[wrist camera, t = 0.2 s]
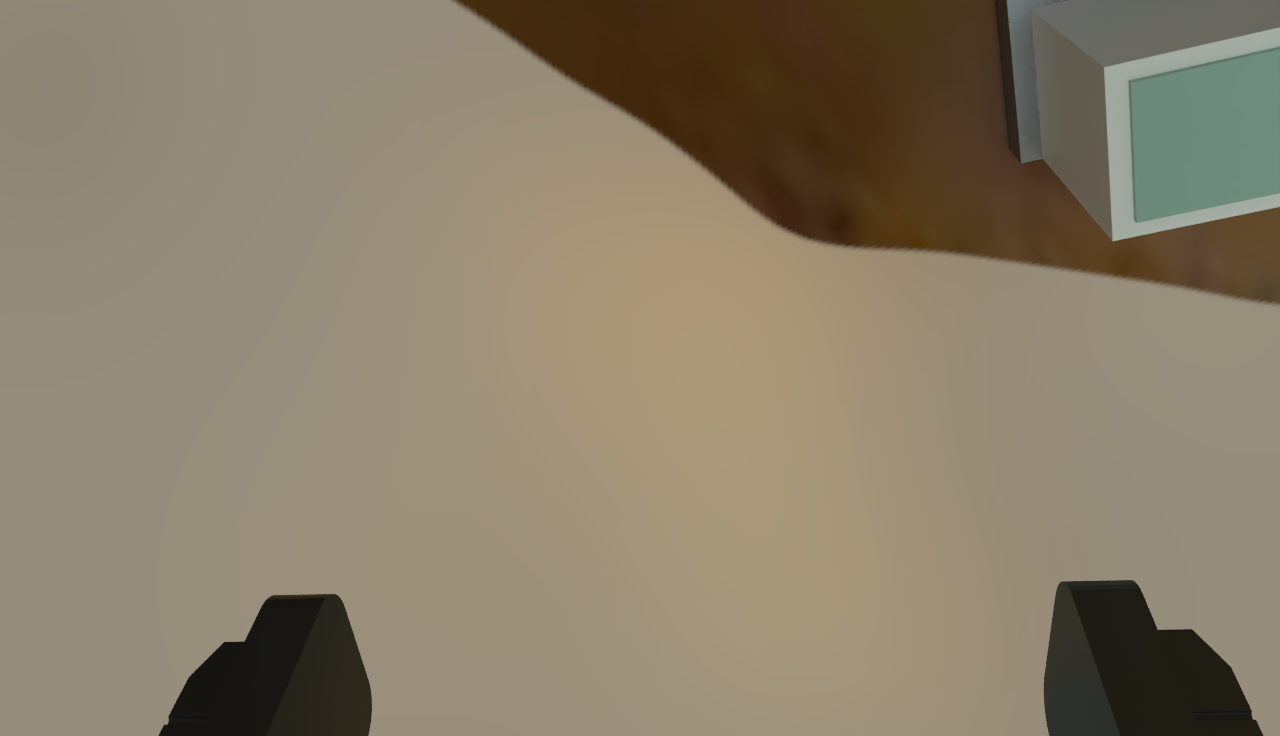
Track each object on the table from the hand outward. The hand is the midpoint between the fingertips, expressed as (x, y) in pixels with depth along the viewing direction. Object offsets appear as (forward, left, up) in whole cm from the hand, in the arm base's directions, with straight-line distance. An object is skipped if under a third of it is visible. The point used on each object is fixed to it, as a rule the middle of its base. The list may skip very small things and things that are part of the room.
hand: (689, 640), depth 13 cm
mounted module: (+4, +14, -27) cm, 31 cm away
